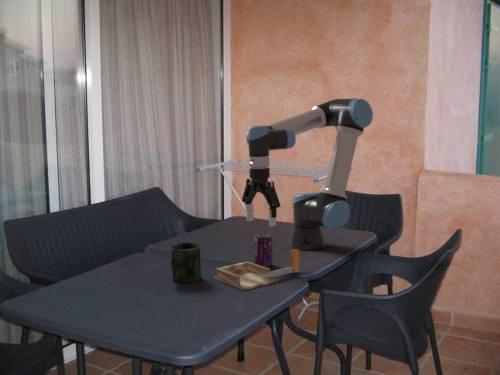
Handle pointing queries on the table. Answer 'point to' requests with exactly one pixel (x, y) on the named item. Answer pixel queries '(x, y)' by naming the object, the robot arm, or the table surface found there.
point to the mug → (186, 262)
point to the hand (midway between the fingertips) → (261, 223)
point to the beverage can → (263, 250)
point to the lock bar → (294, 268)
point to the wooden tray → (243, 275)
